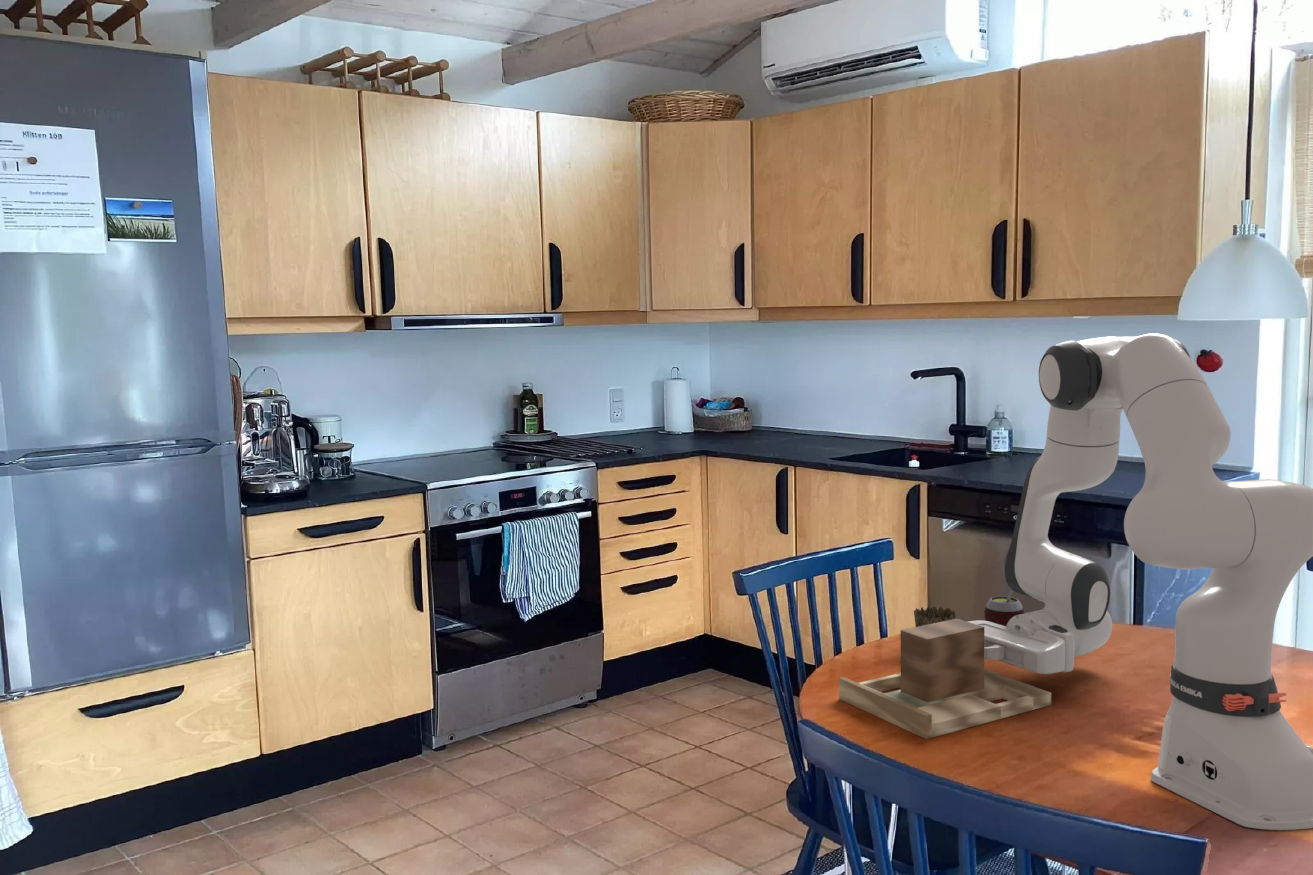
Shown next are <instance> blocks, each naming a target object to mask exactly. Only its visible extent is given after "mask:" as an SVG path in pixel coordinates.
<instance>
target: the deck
mask: <svg viewBox="0 0 1313 875" xmlns="http://www.w3.org/2000/svg"><path fill="white" fill-rule="evenodd" d="M895 689H897V690H895ZM891 690H893V691H891ZM886 691H890V692H886ZM883 692H885V693H883ZM838 696H839V697H838V700H840V701H842V702H845V703H846V704H849V705H851V706H853V707H855V708H857V709H859V710H862V711H864V712H866V713H868V714H871V715H872V716H875V717H877V718H879V719H881V720H884V721H885V722H888V723H890V724H893V725H895V726H897V727H899V728H901V729H904V730H906V731H907V732H910V733H913V734H914V735H917V736H919V737H921V738H923V739H925V740H930V739H932V738H935V737H939V736H943V735H947V734H950V733H954V732H958V731H961V730H965V729H968V728H971V727H975V726H979V725H983V724H987V723H991V722H995V721H998V720H1002V719H1005V718H1009V717H1011V716H1012V717H1013V716H1016V715H1020V714H1023V713H1027V712H1030V711H1034V710H1036V709H1041V708H1045V707H1049V706H1052V692H1050V691H1048V690H1045V689H1042V688H1039V687H1036V686H1034V685H1031V684H1028V683H1025V682H1023V681H1020V680H1016V679H1013V678H1011V677H1008V676H1005V675H1002V674H999V673H996V672H994V671H991V670H987V669H986V668H984V688H983V689H979V690H975V691H971V692H967V693H963V694H959V695H955V696H951V697H947V698H943V699H939V700H935V701H931V702H925V701H923V700H920V699H918V698H915V697H913V696H911V695H908V694H906V693H903V692H901V672H898V673H895V674H890V675H886V676H882V677H877V678H872V679H869V680H864V681H859V682H856V681H854V680H852V679H849V678H847V677H845V676H843V677H839V678H838ZM1001 699H1003V700H1005V701H1003V702H1002V701H1001V702H998V703H994V702H995V701H997V700H1001Z"/></svg>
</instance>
